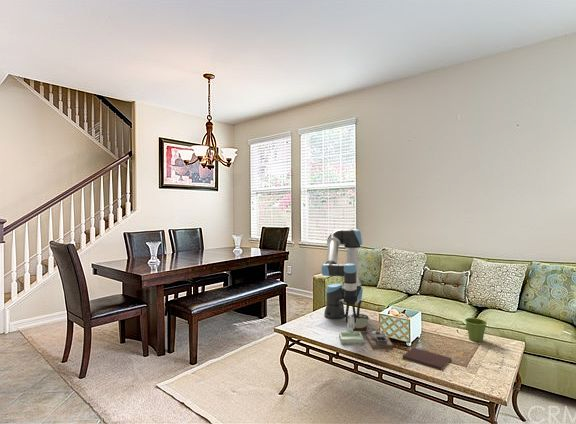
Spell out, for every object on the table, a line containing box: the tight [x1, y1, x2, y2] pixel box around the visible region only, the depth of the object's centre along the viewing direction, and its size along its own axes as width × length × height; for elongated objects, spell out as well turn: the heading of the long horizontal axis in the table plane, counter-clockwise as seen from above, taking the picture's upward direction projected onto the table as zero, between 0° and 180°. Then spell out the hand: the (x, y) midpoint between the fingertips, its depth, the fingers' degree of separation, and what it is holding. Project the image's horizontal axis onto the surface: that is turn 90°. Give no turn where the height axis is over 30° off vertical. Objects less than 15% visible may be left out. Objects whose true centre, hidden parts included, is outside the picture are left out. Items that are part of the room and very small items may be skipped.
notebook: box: [402, 347, 452, 371], centre depth 175 cm, size 15×20×2 cm
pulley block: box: [365, 330, 394, 350], centre depth 197 cm, size 16×12×5 cm
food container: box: [351, 313, 370, 333], centre depth 218 cm, size 12×6×10 cm, turn 84°
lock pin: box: [347, 314, 353, 333], centre depth 201 cm, size 3×3×10 cm
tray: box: [338, 331, 365, 345], centre depth 202 cm, size 12×13×3 cm
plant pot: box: [464, 317, 488, 343], centre depth 199 cm, size 12×12×11 cm
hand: (350, 327), depth 201 cm, fingers closed on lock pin, 2 cm apart
